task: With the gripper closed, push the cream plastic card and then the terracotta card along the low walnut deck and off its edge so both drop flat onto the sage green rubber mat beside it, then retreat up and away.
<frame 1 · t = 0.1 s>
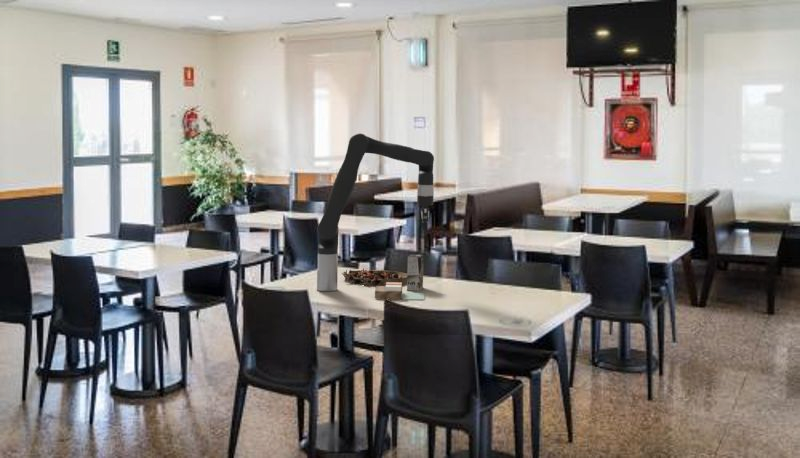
hand: (424, 229, 385), 29 cm above the table, fingers open, 8 cm apart
terracotta card: (393, 287, 379), point 3 cm above the table, touching deck
dried twig wreath: (376, 282, 414), on the table
deck: (388, 296, 376), on the table
cream card: (393, 290, 372), point 3 cm above the table, touching deck
mat: (413, 296, 376), on the table
coffee box: (415, 289, 395), on the table
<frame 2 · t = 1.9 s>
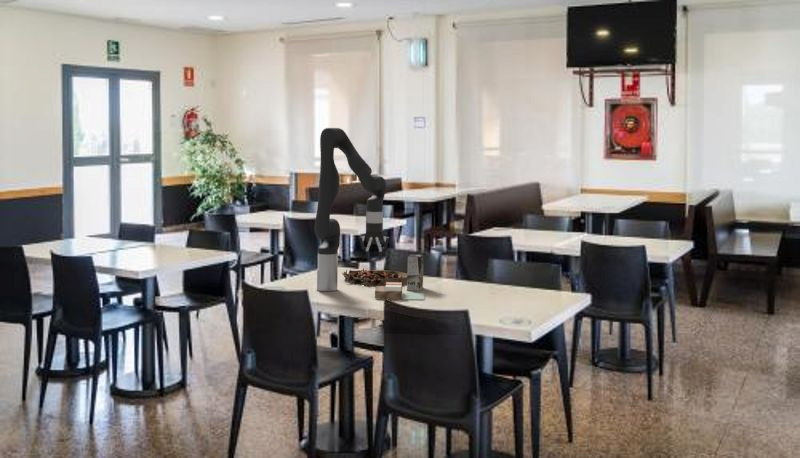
hand: (373, 259, 370), 17 cm above the table, fingers open, 4 cm apart
nothing on the table moved.
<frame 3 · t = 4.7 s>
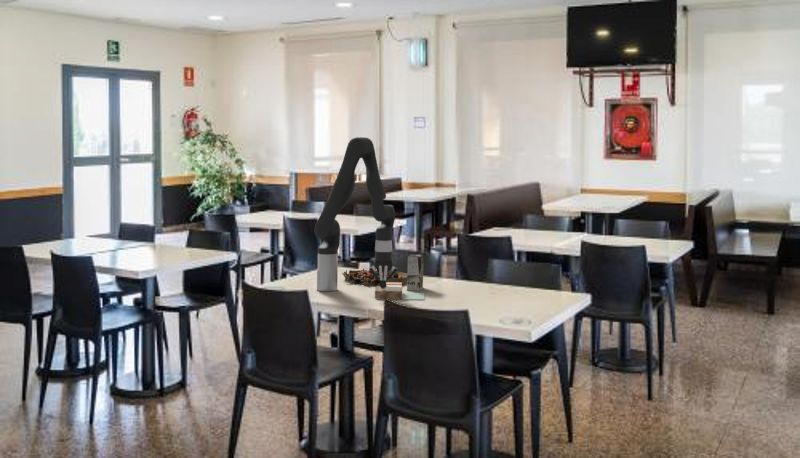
hand: (383, 288, 372), 4 cm above the table, fingers closed
cream card: (394, 290, 372), point 3 cm above the table, touching deck, gripper
everything else where it was.
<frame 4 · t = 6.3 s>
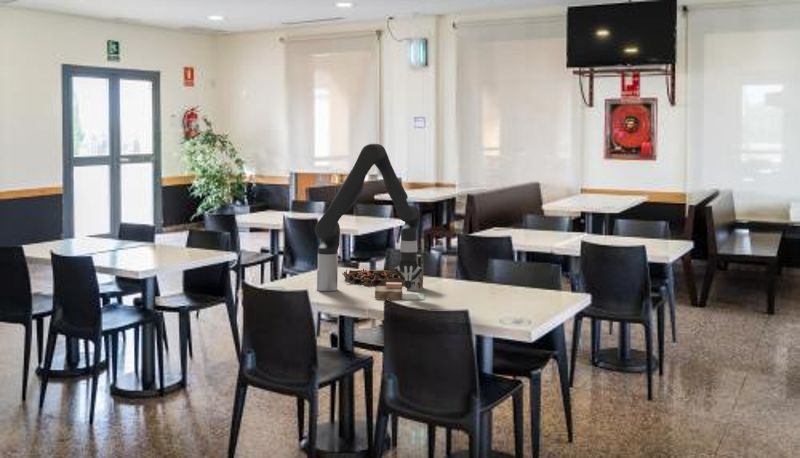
hand: (408, 288, 372), 4 cm above the table, fingers closed
cream card: (410, 297, 372), resting on mat
everything else where it was.
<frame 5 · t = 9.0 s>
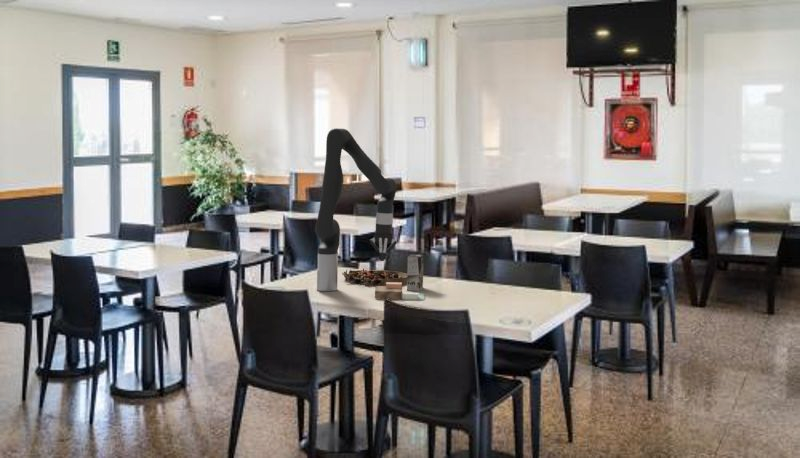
hand: (382, 260, 376), 16 cm above the table, fingers closed
nothing on the table moved.
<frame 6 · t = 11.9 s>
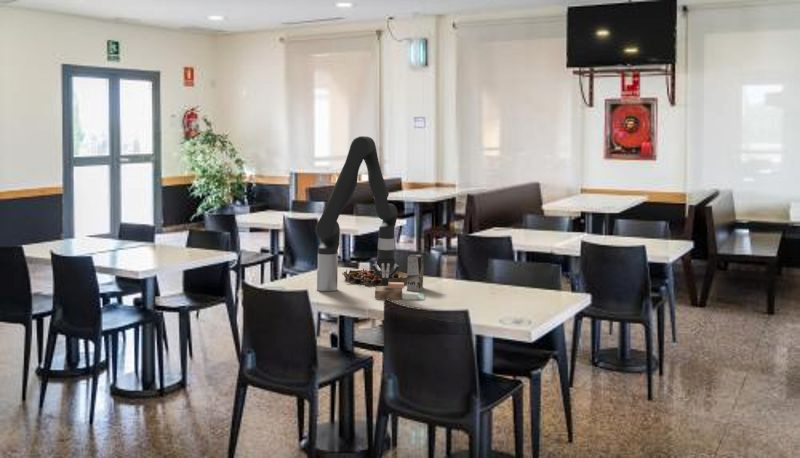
hand: (385, 285, 379), 4 cm above the table, fingers closed
terracotta card: (395, 287, 379), point 4 cm above the table, touching gripper
everything else where it was.
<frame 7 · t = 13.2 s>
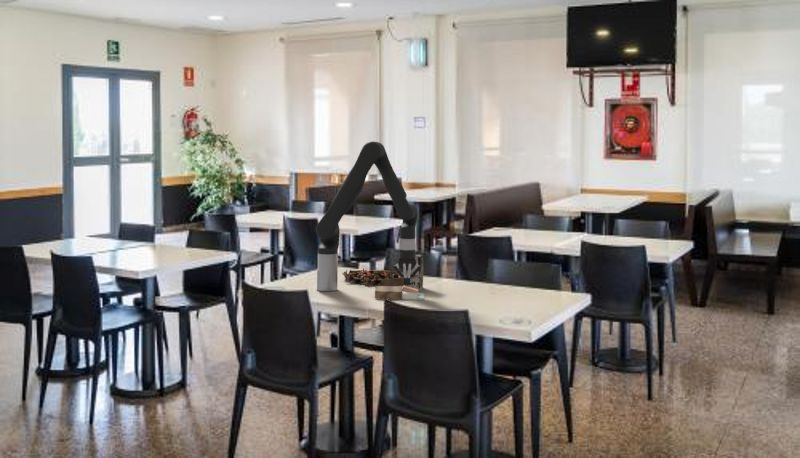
hand: (406, 285, 378), 4 cm above the table, fingers closed
terracotta card: (409, 292, 379), point 1 cm above the table, tilted 15°, touching deck, mat
everything else where it was.
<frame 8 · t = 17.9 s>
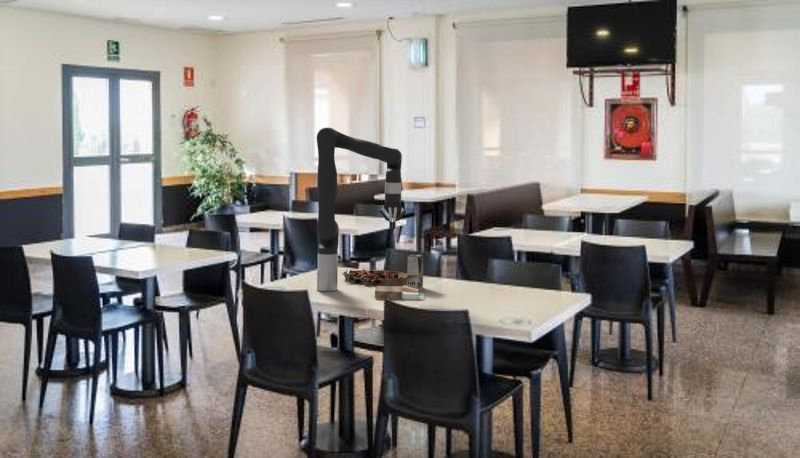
hand: (392, 229, 383), 29 cm above the table, fingers closed
nothing on the table moved.
at the end: cream card inside the target area (2.1 cm from its centre), resting on mat; terracotta card inside the target area (2.4 cm from its centre), point 1.3 cm above the table; coffee box moved 0.2 cm from its start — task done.
